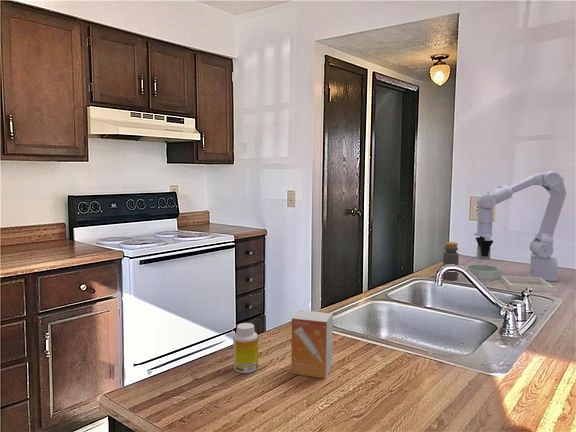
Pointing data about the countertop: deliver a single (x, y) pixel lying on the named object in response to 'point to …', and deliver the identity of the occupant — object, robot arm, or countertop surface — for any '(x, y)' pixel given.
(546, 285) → the tray
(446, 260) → the bottle
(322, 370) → the small box
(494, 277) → the bowl
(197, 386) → the countertop surface
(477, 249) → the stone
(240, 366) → the supplement bottle
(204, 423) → the countertop surface
